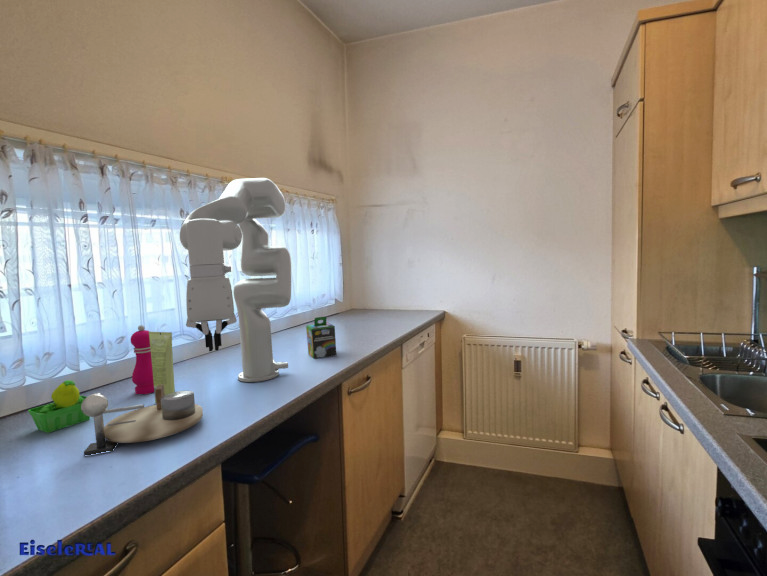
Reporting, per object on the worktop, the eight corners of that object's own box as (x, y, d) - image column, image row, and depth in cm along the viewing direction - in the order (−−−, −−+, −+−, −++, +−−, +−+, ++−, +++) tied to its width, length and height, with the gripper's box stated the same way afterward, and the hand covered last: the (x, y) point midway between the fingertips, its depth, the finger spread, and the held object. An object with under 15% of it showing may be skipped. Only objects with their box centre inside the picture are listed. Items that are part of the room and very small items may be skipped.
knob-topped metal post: (149, 438, 93) (144, 384, 91) (145, 446, 89) (140, 389, 88) (91, 448, 89) (84, 391, 88) (84, 456, 85) (77, 397, 84)
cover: (196, 407, 103) (195, 388, 103) (193, 417, 97) (192, 397, 96) (165, 411, 101) (163, 393, 101) (159, 422, 94) (157, 402, 94)
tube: (178, 397, 120) (171, 328, 118) (178, 402, 115) (171, 331, 113) (155, 400, 117) (148, 331, 116) (154, 406, 113) (147, 334, 111)
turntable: (206, 402, 110) (204, 378, 109) (198, 432, 91) (196, 404, 90) (118, 414, 104) (115, 390, 103) (90, 450, 85) (87, 420, 84)
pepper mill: (148, 395, 122) (142, 327, 120) (127, 395, 123) (120, 327, 122) (166, 387, 129) (160, 322, 127) (146, 387, 130) (139, 323, 129)
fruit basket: (82, 413, 110) (77, 371, 109) (100, 419, 105) (95, 375, 104) (29, 430, 100) (23, 384, 99) (46, 437, 96) (40, 389, 95)
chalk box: (330, 350, 168) (328, 313, 166) (337, 355, 159) (335, 316, 158) (307, 354, 164) (304, 316, 163) (313, 359, 156) (310, 319, 154)
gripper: (242, 270, 105) (247, 343, 106) (174, 273, 100) (181, 350, 101) (242, 271, 97) (247, 349, 99) (169, 275, 93) (176, 357, 94)
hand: (214, 349), depth 100 cm, fingers closed
